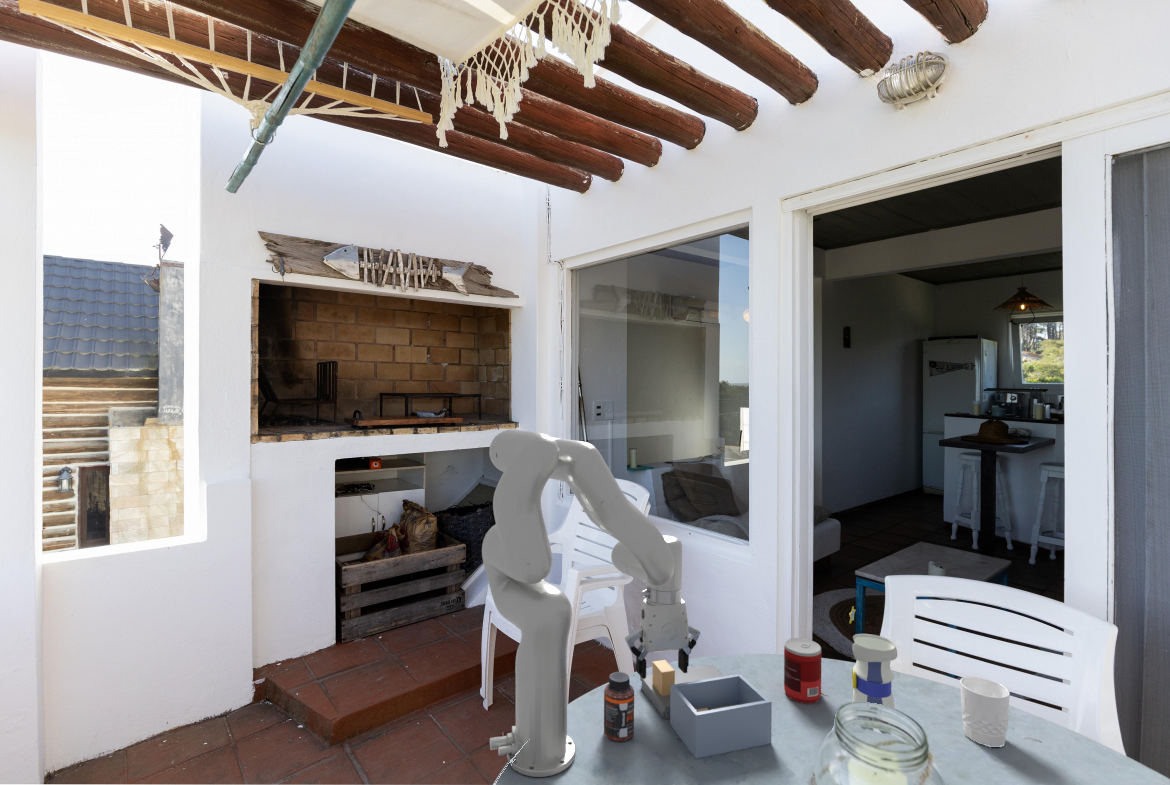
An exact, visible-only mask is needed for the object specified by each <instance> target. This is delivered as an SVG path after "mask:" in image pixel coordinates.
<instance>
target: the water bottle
mask: <svg viewBox="0 0 1170 785" xmlns="http://www.w3.org/2000/svg"><path fill="white" fill-rule="evenodd" d="M854 607H855V606H852V607H851V611H850V612H849V617H850V618H849V624H852V621H854V620H855V613H856V611H857V610H856V609H854ZM852 639H853V642H854V643H852V654H853V656H854V659H855V660H856V662H855V663H854V666H853V667H852V668H853V669H852V671H851V673H852V674H851V677H852V678H851V679H852V684H851V685H852V689H853V691H852V703H853V702H870V703H877V704H882V705H885V706H889V707H892V708H894V709H895V698H894V695H893V693H892V681H893V680H894V679H895V675H894V673H893V672H892V669H891V661H892V662H893V661H894V660H896V659H897V657H898V650H897V646H896V644H895V642H894V641H892V640H890V639H889V638H887V637H884V636H880V635H877V634H869V633H858V634H857V633H855V634H854V635H853V636H852Z"/></svg>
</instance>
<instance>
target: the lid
mask: <svg viewBox="0 0 1170 785" xmlns="http://www.w3.org/2000/svg"><path fill="white" fill-rule="evenodd" d="M639 676H640V675H639ZM723 676H725V675H724V673H722V672H721V670H719V669H718V668H717V667H716V666H715V665H714V664H707V665H700V666H695V667H687V673H683V672H682V670H681V669H680V668H679V669H674V668H673V667H672V665H670V664H669V662H668V661H667V660H666V659H663V660H654V661H653V660H652V673H648V674H647V673H646V678H645V679H642V677H641V676H640V679H639V680H640V682H641V690H643V692H644V693H645V695H646V697H647V698H648V699H649V700H650V702H651V701H652V702H651V703H652V705H654V707H655V708H656V710H657V711H658V713H660V715H661V717H662V718H665V719H666V720H670V685H674V684H680V683H686V682H692V681H699V680H705V679H711V678H717V677H723Z"/></svg>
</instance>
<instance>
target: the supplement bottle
mask: <svg viewBox="0 0 1170 785" xmlns="http://www.w3.org/2000/svg"><path fill="white" fill-rule="evenodd" d="M603 731H604V735H605V737H606V738H607V739H610V740H611V741H614V742H626V741H628V740H630V739H632V738H633V736H634V733H635V689H634V687H633V686H632V685H631V684H630V675H629V674H627V673H626V672H623V671H615V672H612V673H611V674H609V678H608V684H606V685H605V687H604V692H603Z"/></svg>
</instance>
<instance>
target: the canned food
mask: <svg viewBox="0 0 1170 785" xmlns="http://www.w3.org/2000/svg"><path fill="white" fill-rule="evenodd" d="M783 646H784V647H783V648H784V650H783V652H784V653H783V654H784V656H783V678H784V679H783V687H784V688H783V689H784V692H785V695H786V697H788V698H789V699H790V700H792V701H794V702H797V703H801V704H814V703H817V702H819V701H820V699H821V697H822V696H821V695H822V647H821V645H820V644H819V643H817V642H816V641H814V640H810V639H808V638H803V637H794V638H788V639H786V640H785V641H784V644H783Z"/></svg>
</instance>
